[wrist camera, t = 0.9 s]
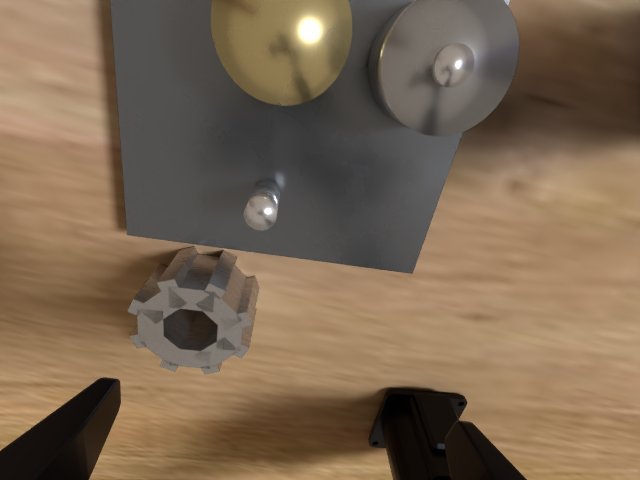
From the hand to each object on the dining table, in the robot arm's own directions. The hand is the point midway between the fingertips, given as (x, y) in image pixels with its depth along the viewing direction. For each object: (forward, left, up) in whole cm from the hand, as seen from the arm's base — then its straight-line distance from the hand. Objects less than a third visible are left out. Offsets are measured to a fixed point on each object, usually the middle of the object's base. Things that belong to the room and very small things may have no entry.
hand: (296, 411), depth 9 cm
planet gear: (-5, +5, -12) cm, 14 cm away
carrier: (+7, +1, -12) cm, 14 cm away
